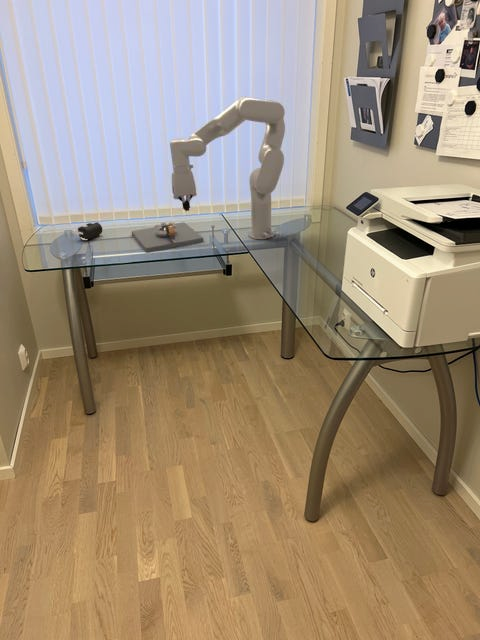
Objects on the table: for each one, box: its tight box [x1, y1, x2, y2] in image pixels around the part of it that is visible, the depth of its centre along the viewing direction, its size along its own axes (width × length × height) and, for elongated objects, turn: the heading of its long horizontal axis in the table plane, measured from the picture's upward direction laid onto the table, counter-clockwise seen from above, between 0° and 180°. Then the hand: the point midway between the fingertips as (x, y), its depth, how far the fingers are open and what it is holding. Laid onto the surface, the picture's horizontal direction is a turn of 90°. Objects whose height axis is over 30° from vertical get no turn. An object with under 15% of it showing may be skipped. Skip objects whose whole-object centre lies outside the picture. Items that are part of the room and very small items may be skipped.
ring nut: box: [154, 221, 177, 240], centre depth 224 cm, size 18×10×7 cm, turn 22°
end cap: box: [77, 221, 103, 240], centre depth 233 cm, size 10×7×7 cm
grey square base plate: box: [131, 221, 204, 253], centre depth 230 cm, size 28×28×2 cm
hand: (186, 210), depth 215 cm, fingers closed
